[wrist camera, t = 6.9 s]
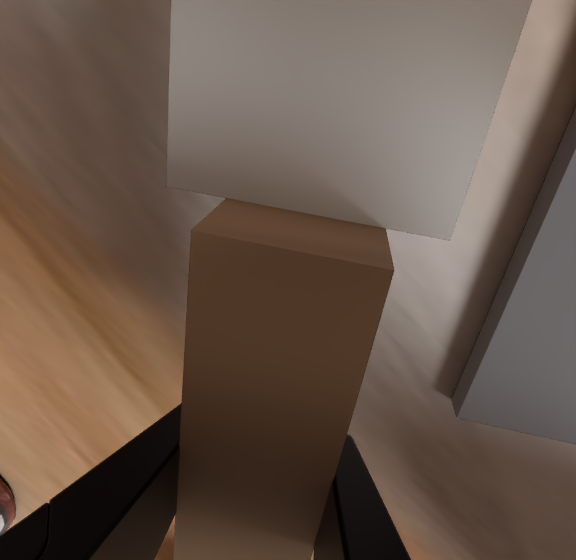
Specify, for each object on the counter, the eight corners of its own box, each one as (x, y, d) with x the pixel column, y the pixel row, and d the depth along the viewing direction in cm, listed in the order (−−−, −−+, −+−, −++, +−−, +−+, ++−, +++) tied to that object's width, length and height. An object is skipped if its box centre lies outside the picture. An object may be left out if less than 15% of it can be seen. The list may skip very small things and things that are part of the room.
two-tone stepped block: (335, 545, 12) (329, 663, 10) (170, 506, 13) (125, 611, 10) (619, -335, 5) (881, -744, 3) (212, -378, 5) (88, -779, 3)
